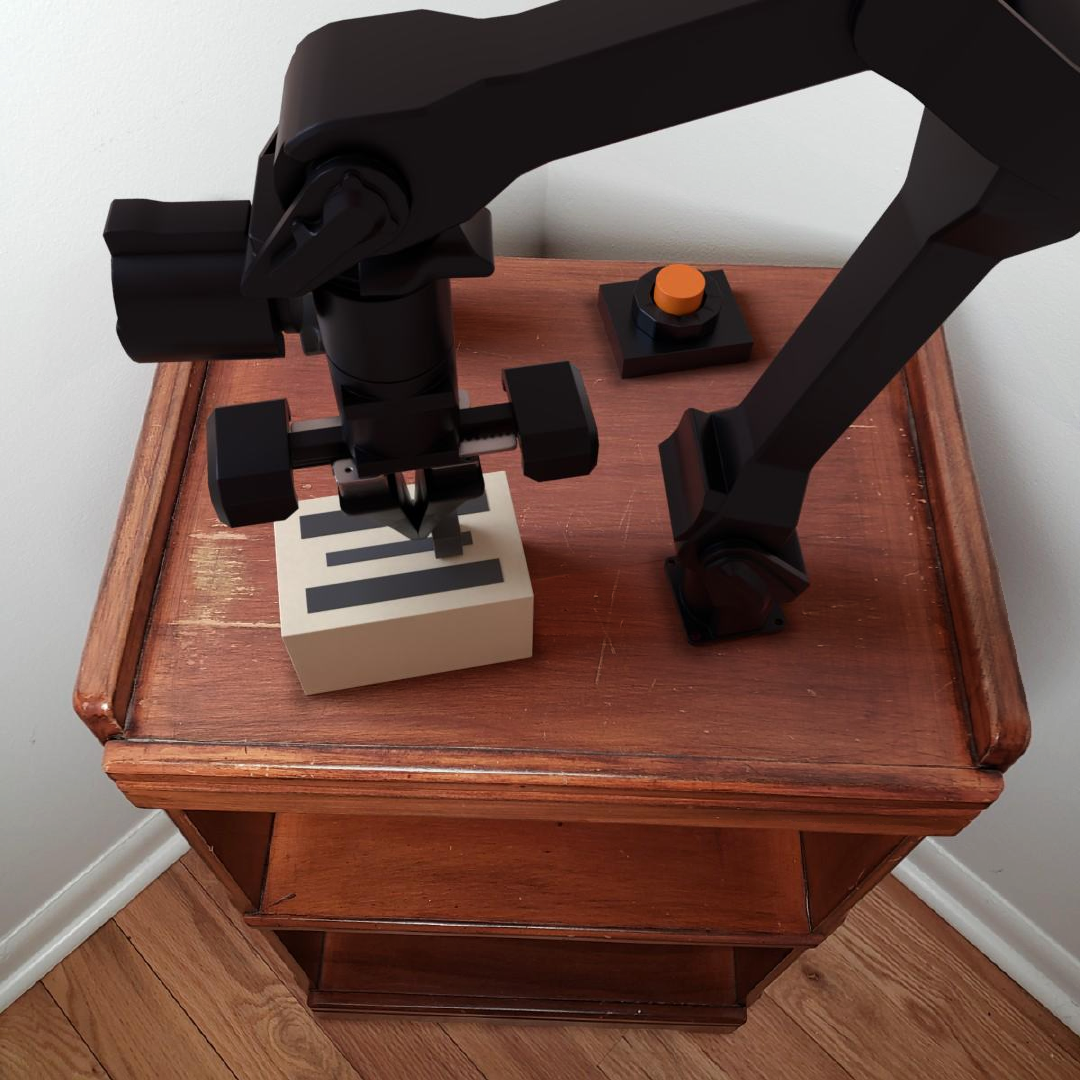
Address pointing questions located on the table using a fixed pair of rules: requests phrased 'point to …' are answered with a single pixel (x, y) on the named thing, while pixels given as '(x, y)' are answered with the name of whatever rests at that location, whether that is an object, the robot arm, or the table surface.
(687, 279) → the button
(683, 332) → the control block
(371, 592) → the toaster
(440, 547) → the slider
